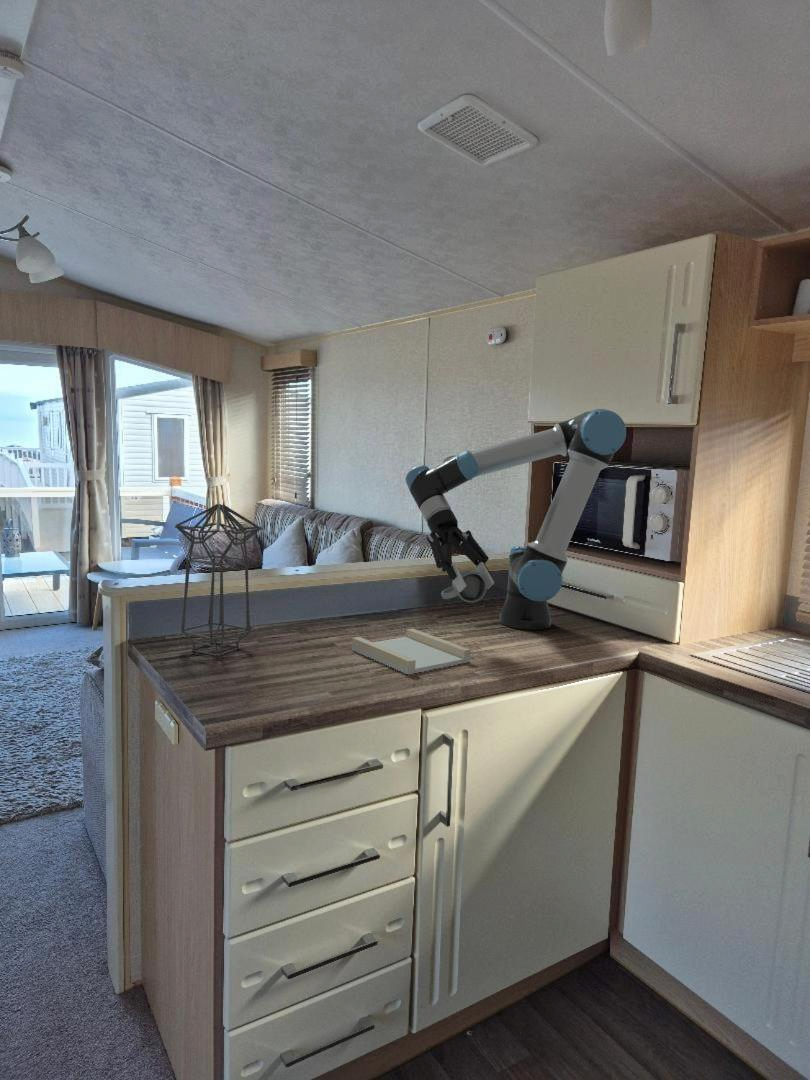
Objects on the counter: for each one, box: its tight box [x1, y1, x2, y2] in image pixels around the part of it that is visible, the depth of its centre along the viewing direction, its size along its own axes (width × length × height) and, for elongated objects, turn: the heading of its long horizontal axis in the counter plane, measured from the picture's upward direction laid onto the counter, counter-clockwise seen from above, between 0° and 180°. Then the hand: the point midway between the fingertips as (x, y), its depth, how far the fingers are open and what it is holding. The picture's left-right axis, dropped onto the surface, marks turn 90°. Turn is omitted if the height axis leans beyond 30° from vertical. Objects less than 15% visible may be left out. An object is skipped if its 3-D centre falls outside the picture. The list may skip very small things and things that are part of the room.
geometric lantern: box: [174, 503, 263, 657], centre depth 170 cm, size 16×16×35 cm
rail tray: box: [351, 628, 472, 675], centre depth 174 cm, size 19×22×3 cm
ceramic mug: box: [440, 569, 487, 604], centre depth 183 cm, size 11×8×8 cm
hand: (476, 587), depth 180 cm, fingers closed on ceramic mug, 9 cm apart
